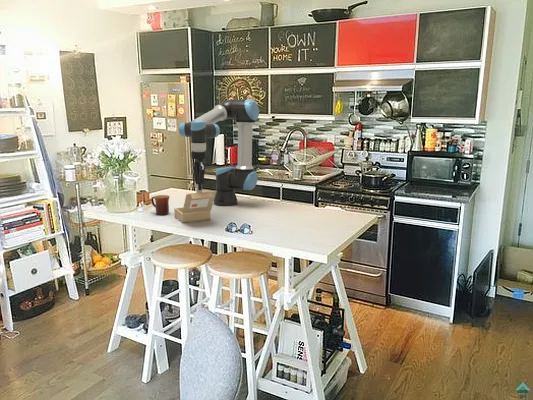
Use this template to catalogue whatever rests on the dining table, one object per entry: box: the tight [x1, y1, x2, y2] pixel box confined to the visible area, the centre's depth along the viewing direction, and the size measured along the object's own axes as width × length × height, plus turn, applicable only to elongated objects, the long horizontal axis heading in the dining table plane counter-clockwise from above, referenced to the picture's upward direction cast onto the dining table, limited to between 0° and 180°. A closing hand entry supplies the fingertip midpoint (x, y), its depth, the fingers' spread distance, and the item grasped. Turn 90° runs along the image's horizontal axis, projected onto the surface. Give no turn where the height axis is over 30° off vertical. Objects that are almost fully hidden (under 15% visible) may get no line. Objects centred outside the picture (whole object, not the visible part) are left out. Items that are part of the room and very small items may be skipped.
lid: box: [182, 190, 216, 214], centre depth 237 cm, size 16×14×4 cm
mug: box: [150, 194, 171, 216], centre depth 258 cm, size 12×9×10 cm
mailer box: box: [174, 206, 212, 224], centre depth 249 cm, size 16×14×5 cm
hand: (199, 195), depth 236 cm, fingers closed
